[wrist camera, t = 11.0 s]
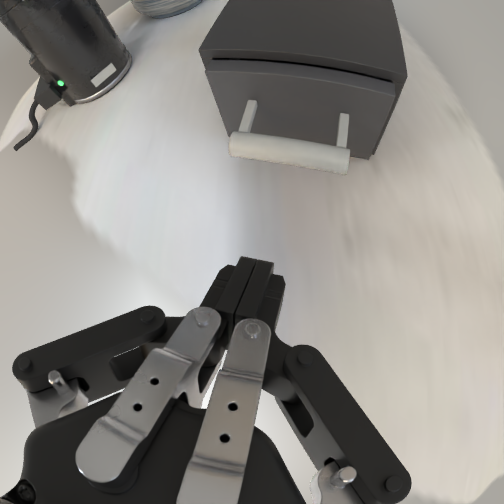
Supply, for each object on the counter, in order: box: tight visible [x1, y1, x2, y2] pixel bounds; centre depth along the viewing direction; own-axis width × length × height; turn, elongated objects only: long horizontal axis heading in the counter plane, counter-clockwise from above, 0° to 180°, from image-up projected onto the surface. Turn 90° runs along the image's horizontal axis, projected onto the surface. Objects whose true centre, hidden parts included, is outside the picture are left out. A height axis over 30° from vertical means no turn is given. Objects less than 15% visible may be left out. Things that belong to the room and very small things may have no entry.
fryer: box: [199, 0, 407, 155], centre depth 20 cm, size 15×13×10 cm
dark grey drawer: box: [205, 58, 395, 175], centre depth 19 cm, size 18×11×8 cm, turn 167°
